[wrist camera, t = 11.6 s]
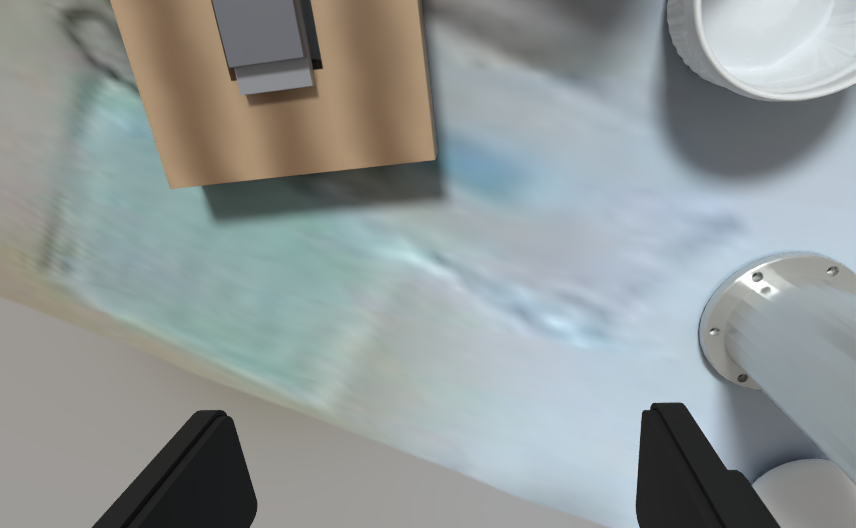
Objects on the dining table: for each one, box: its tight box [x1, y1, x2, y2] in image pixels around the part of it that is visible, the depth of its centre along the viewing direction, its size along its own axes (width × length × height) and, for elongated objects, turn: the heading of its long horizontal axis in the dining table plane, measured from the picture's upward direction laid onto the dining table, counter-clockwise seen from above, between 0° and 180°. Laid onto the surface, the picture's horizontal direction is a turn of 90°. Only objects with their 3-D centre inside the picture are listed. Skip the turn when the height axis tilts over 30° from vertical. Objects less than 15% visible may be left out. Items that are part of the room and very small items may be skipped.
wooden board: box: [110, 0, 438, 189], centre depth 31 cm, size 20×22×4 cm
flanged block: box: [212, 0, 322, 95], centre depth 30 cm, size 5×10×5 cm, turn 7°
